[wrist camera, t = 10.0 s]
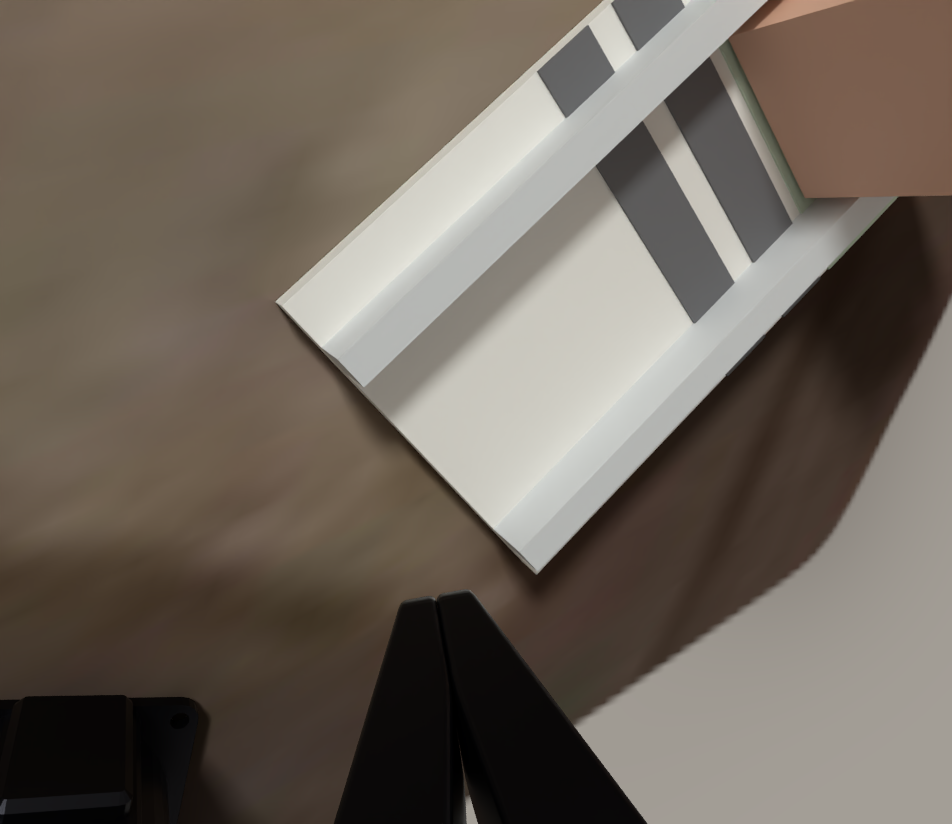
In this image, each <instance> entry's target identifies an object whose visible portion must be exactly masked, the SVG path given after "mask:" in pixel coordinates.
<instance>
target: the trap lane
mask: <svg viewBox="0 0 952 824" xmlns="http://www.w3.org/2000/svg"><path fill="white" fill-rule="evenodd" d="M766 1H768V0H604V1H603V2H602V3H600V4H599V5H598V6H597V7H596V8H595V9H594V10H593V11H592V12H591V13H590V14H588V15H587V16H586V17H585V18H584V19H583V20H582V21H581V22H580V23H579V24H578V25H576V26H575V27H574V28H573V29H572V30H571V31H570V32H569V33H568V34H567V35H566V36H564V37H563V38H562V39H561V40H560V41H559V42H558V43H557V44H556V45H555V46H554V47H552V48H551V49H550V50H549V51H548V52H547V53H546V54H545V55H544V56H543V57H542V58H540V59H539V60H538V61H537V62H536V63H535V64H534V65H533V66H532V67H531V68H530V69H528V70H527V71H526V72H525V73H524V74H523V75H522V76H521V77H520V78H519V79H518V80H516V81H515V82H514V83H513V84H512V85H511V86H510V87H509V88H508V89H507V90H506V91H505V92H503V93H502V94H501V95H500V96H499V97H498V98H497V99H496V100H495V101H494V102H493V103H491V104H490V105H489V106H488V107H487V108H486V109H485V110H484V111H483V112H482V113H481V114H479V115H478V116H477V117H476V118H475V119H474V120H473V121H472V122H471V123H470V124H469V125H467V126H466V127H465V128H464V129H463V130H462V131H461V132H460V133H459V134H458V135H457V136H455V137H454V138H453V139H452V140H451V141H450V142H449V143H448V144H447V145H446V146H445V147H443V148H442V149H441V150H440V151H439V152H438V153H437V154H436V155H435V156H434V157H433V158H431V159H430V160H429V161H428V162H427V163H426V164H425V165H424V166H423V167H422V168H421V169H419V170H418V171H417V172H416V173H415V174H414V175H413V176H412V177H411V178H410V179H409V180H408V181H406V182H405V183H404V184H403V185H402V186H401V187H400V188H399V189H398V190H397V191H396V192H394V193H393V194H392V195H391V196H390V197H389V198H388V199H387V200H386V201H385V202H384V203H382V204H381V205H380V206H379V207H378V208H377V209H376V210H375V211H374V212H373V213H372V214H370V215H369V216H368V217H367V218H366V219H365V220H364V221H363V222H362V223H361V224H360V225H358V226H357V227H356V228H355V229H354V230H353V231H352V232H351V233H350V234H349V235H348V236H346V237H345V238H344V239H343V240H342V241H341V242H340V243H339V244H338V245H337V246H336V247H334V248H333V249H332V250H331V251H330V252H329V253H328V254H327V255H326V256H325V257H324V258H322V259H321V260H320V261H319V262H318V263H317V264H316V265H315V266H314V267H313V268H312V269H310V270H309V271H308V272H307V273H306V274H305V275H304V276H303V277H302V278H301V279H300V280H299V281H297V282H296V283H295V284H294V285H293V286H292V287H291V288H290V289H289V290H288V291H287V292H285V293H284V294H283V295H282V296H281V297H280V298H279V299H278V300H277V301H276V303H277V304H278V305H279V306H280V307H281V308H282V310H283V311H284V312H285V313H286V314H287V315H288V316H289V317H290V318H291V319H292V320H293V321H294V322H295V323H296V324H297V325H298V326H299V327H300V328H301V330H302V331H303V332H304V333H305V334H306V335H307V336H308V337H309V338H310V339H311V340H312V341H313V342H314V343H315V344H316V345H317V346H318V347H319V348H320V350H321V351H322V352H323V353H324V354H325V355H326V356H327V357H328V358H329V359H330V360H331V361H332V362H333V363H334V364H335V365H336V366H337V367H338V368H339V370H340V371H341V372H342V373H343V374H344V375H345V376H346V377H347V378H348V379H349V380H350V381H351V382H352V383H353V384H354V385H355V386H356V387H357V388H358V390H359V391H360V392H361V393H362V394H363V395H364V396H365V397H366V398H367V399H368V400H369V401H370V402H371V403H372V404H373V405H374V406H375V407H376V408H377V410H378V411H379V412H380V413H381V414H382V415H383V416H384V417H385V418H386V419H387V420H388V421H389V422H390V423H391V424H392V425H393V426H394V427H395V428H396V430H397V431H398V432H399V433H400V434H401V435H402V436H403V437H404V438H405V439H406V440H407V441H408V442H409V443H410V444H411V445H412V446H413V447H414V448H415V449H416V451H417V452H418V453H419V454H420V455H421V456H422V457H423V458H424V459H425V460H426V461H427V462H428V463H429V464H430V465H431V466H432V467H433V468H434V469H435V471H436V472H437V473H438V474H439V475H440V476H441V477H442V478H443V479H444V480H445V481H446V482H447V483H448V484H449V485H450V486H451V487H452V488H453V489H454V491H455V492H456V493H457V494H458V495H459V496H460V497H461V498H462V499H463V500H464V501H465V502H466V503H467V504H468V505H469V506H470V507H471V508H472V509H473V511H474V512H475V513H476V514H477V515H478V516H479V517H480V518H481V519H482V520H483V521H484V522H485V523H486V524H487V525H488V526H489V527H490V528H491V529H492V531H493V532H494V533H495V534H496V535H497V536H498V537H499V538H500V539H501V540H502V541H503V542H504V543H505V544H506V545H507V546H508V547H509V548H510V549H511V551H512V552H513V553H514V554H515V555H516V556H517V557H518V558H519V559H520V560H521V561H522V562H523V563H524V564H525V565H526V566H527V567H528V568H530V569H531V570H532V571H533V572H534V573H535V574H536V575H537V574H538V573H539V572H540V571H541V570H542V569H543V568H544V567H545V565H546V564H547V563H548V562H549V561H550V560H551V559H552V558H553V557H554V556H555V555H556V554H557V553H558V552H559V551H560V550H561V549H562V548H563V547H564V545H565V544H566V543H567V542H568V541H569V540H570V539H571V538H572V537H573V536H574V535H575V534H576V533H577V532H578V531H579V530H580V529H581V528H582V527H583V525H584V524H585V523H586V522H587V521H588V520H589V519H590V518H591V517H592V516H593V515H594V514H595V513H596V512H597V511H598V510H599V509H600V508H601V507H602V505H603V504H604V503H605V502H606V501H607V500H608V499H609V498H610V497H611V496H612V495H613V494H614V493H615V492H616V491H617V490H618V489H619V488H620V487H621V486H622V484H623V483H624V482H625V481H626V480H627V479H628V478H629V477H630V476H631V475H632V474H633V473H634V472H635V471H636V470H637V469H638V468H639V467H640V466H641V464H642V463H643V462H644V461H645V460H646V459H647V458H648V457H649V456H650V455H651V454H652V453H653V452H654V451H655V450H656V449H657V448H658V447H659V446H660V444H661V443H662V442H663V441H664V440H665V439H666V438H667V437H668V436H669V435H670V434H671V433H672V432H673V431H674V430H675V429H676V428H677V427H678V426H679V424H680V423H681V422H682V421H683V420H684V419H685V418H686V417H687V416H688V415H689V414H690V413H691V412H692V411H693V410H694V409H695V408H696V407H697V406H698V405H699V403H700V402H701V401H702V400H703V399H704V398H705V397H706V396H707V395H708V394H709V393H710V392H711V391H712V390H713V389H714V388H715V387H716V386H717V385H718V383H719V382H720V381H721V380H722V379H723V378H724V377H725V376H729V375H730V374H731V372H732V371H733V370H734V369H735V368H736V367H737V366H738V365H739V364H740V363H741V362H742V361H743V360H744V359H745V358H746V357H747V356H748V355H749V354H750V352H751V351H752V350H753V349H754V348H755V347H756V346H757V345H758V344H759V343H760V342H761V341H762V340H763V339H764V338H765V334H766V333H767V332H768V331H769V330H770V329H771V328H772V327H773V326H774V325H775V324H776V322H777V321H778V320H779V319H780V318H781V317H785V316H786V315H787V314H788V312H789V311H790V310H791V309H792V308H793V307H794V306H795V305H796V304H797V303H798V302H799V301H800V300H801V299H802V298H803V297H804V296H805V295H806V294H807V292H808V291H809V290H810V289H811V288H812V287H813V286H814V285H815V284H816V283H817V282H818V281H819V280H820V276H821V275H822V274H823V273H824V272H825V271H826V270H827V269H830V268H831V267H832V266H833V265H834V264H835V263H836V262H837V261H838V260H839V259H840V258H841V257H842V256H843V255H844V254H845V252H846V251H847V250H848V249H849V248H850V247H851V246H852V245H853V244H854V243H855V242H856V241H857V240H858V239H859V238H860V237H861V236H862V235H863V234H864V232H865V231H866V230H867V229H868V228H869V227H870V226H871V225H872V224H873V223H874V222H875V221H876V220H877V219H878V218H879V217H880V216H881V215H882V214H883V212H884V211H885V210H886V209H887V208H888V207H889V206H890V205H891V204H892V203H893V202H894V201H895V200H896V199H897V198H898V197H899V196H892V197H838V198H805V197H804V195H803V193H802V191H801V189H800V187H799V185H798V183H797V181H796V179H795V177H794V175H793V172H792V170H791V168H790V166H789V164H788V162H787V160H786V158H785V156H784V154H783V152H782V150H781V147H780V145H779V143H778V141H777V139H776V137H775V135H774V133H773V131H772V129H771V127H770V125H769V122H768V120H767V118H766V116H765V114H764V112H763V110H762V108H761V106H760V104H759V102H758V100H757V97H756V95H755V93H754V91H753V89H752V87H751V85H750V83H749V81H748V79H747V77H746V74H745V72H744V70H743V68H742V66H741V64H740V62H739V60H738V58H737V56H736V54H735V52H734V49H733V47H732V45H731V43H730V41H729V39H728V38H729V37H730V36H731V35H732V34H733V33H734V32H735V31H736V30H737V29H738V28H739V27H740V26H741V25H743V24H744V23H745V22H746V21H747V20H748V19H749V18H750V17H751V16H752V15H753V14H754V13H755V12H756V11H757V10H758V9H759V8H760V7H761V6H762V5H763V4H764V3H765V2H766Z"/></svg>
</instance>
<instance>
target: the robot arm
mask: <svg viewBox="0 0 952 824" xmlns="http://www.w3.org/2000/svg"><path fill="white" fill-rule="evenodd" d="M437 606H438V608H437ZM178 713H185V714H187V716H186V717H185V718H184V719H182V720H178V721H176V720H172V719H171V718H172V717H173V716H174V715H176V714H178ZM197 724H198V710H197V705H196V704H195V702H194V701H193V700H191V699H190V698H185V697H154V698H127V697H126V696H124V695H94V696H28V697H25V698H23V699H21V700H0V824H177V820H178V816H179V811H180V806H181V801H182V796H183V791H184V787H185V782H186V777H187V772H188V767H189V763H190V758H191V753H192V748H193V743H194V738H195V734H196V729H197ZM458 739H459V740H458ZM459 745H460V747H459ZM460 751H461V755H460ZM461 757H462V762H461ZM462 763H463V768H464V773H465V778H466V782H467V786H468V790H469V793H470V797H471V801H472V804H473V808H474V811H475V814H476V818H477V822H478V824H647V822H646V821H645V820H644V819H643V817H642V816H641V814H640V813H639V812H638V811H637V809H636V808H635V807H634V805H633V804H632V803H631V801H630V800H629V799H628V797H627V796H626V795H625V793H624V792H623V791H622V789H621V788H620V787H619V785H618V784H617V783H616V781H615V780H614V779H613V777H612V776H611V775H610V773H609V772H608V771H607V769H606V768H605V767H604V765H603V764H602V763H601V761H600V760H599V759H598V757H597V756H596V755H595V754H594V752H593V751H592V750H591V748H590V747H589V746H588V744H587V743H586V742H585V740H584V739H583V738H582V736H581V735H580V734H579V732H578V731H577V730H576V728H575V727H574V726H573V724H572V723H571V722H570V720H569V719H568V718H567V716H566V715H565V714H564V712H563V711H562V710H561V708H560V707H559V706H558V704H557V703H556V702H555V700H554V699H553V698H552V697H551V695H550V694H549V693H548V691H547V690H546V689H545V687H544V686H543V685H542V683H541V682H540V681H539V679H538V678H537V677H536V675H535V674H534V673H533V671H532V670H531V669H530V667H529V666H528V665H527V663H526V662H525V661H524V659H523V658H522V657H521V655H520V654H519V653H518V651H517V650H516V649H515V647H514V646H513V645H512V644H511V642H510V641H509V640H508V638H507V637H506V636H505V634H504V633H503V632H502V630H501V629H500V628H499V626H498V625H497V624H496V622H495V621H494V620H493V618H492V617H491V616H490V614H489V613H488V612H487V610H486V609H485V608H484V606H483V605H482V604H481V602H480V601H479V600H478V598H477V597H476V596H475V595H474V594H473V593H472V592H471V591H470V590H467V589H466V590H459V591H454V592H448V593H443V594H440V595H439V596H438V598H437V602H436V599H435V598H434V597H432V596H426V597H421V598H415V599H410V600H405V601H403V602H402V603H401V605H400V607H399V609H398V612H397V616H396V619H395V622H394V625H393V629H392V632H391V635H390V639H389V642H388V645H387V649H386V652H385V655H384V659H383V662H382V665H381V669H380V672H379V675H378V679H377V682H376V685H375V689H374V692H373V695H372V699H371V702H370V705H369V709H368V712H367V715H366V719H365V722H364V725H363V729H362V732H361V735H360V739H359V742H358V745H357V749H356V752H355V755H354V758H353V762H352V765H351V768H350V772H349V775H348V778H347V782H346V785H345V788H344V792H343V795H342V798H341V802H340V805H339V808H338V812H337V815H336V818H335V822H334V824H467V823H466V802H465V788H464V777H463V769H462Z"/></svg>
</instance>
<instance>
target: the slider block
mask: <svg viewBox="0 0 952 824" xmlns="http://www.w3.org/2000/svg"><path fill="white" fill-rule="evenodd" d="M728 39H729V41H730V43H731V45H732V47H733V49H734V52H735V54H736V56H737V58H738V60H739V62H740V64H741V66H742V68H743V70H744V72H745V74H746V77H747V79H748V81H749V83H750V85H751V87H752V89H753V91H754V93H755V95H756V97H757V100H758V102H759V104H760V106H761V108H762V110H763V112H764V114H765V116H766V118H767V120H768V122H769V125H770V127H771V129H772V131H773V133H774V135H775V137H776V139H777V141H778V143H779V145H780V147H781V150H782V152H783V154H784V156H785V158H786V160H787V162H788V164H789V166H790V168H791V170H792V172H793V175H794V177H795V179H796V181H797V183H798V185H799V187H800V189H801V191H802V193H803V195H804V197H805V198H838V197H892V196H946V195H952V0H768V1H766V2H765V3H764V4H763V5H762V6H761V7H760V8H759V9H758V10H757V11H756V12H755V13H754V14H753V15H752V16H751V17H750V18H749V19H748V20H747V21H746V22H745V23H744V24H743V25H741V26H740V27H739V28H738V29H737V30H736V31H735V32H734V33H733V34H732V35H731V36H730V37H729V38H728Z"/></svg>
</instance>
